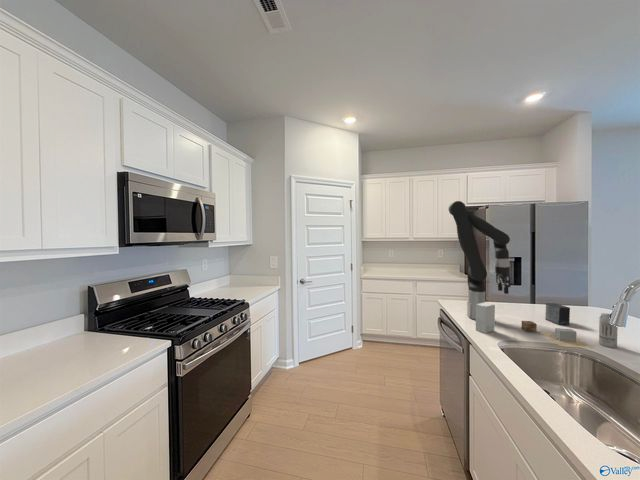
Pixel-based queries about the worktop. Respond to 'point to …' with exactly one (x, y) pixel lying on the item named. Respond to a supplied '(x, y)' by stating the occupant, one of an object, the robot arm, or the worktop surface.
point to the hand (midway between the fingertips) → (503, 292)
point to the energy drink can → (607, 332)
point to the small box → (557, 314)
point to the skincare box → (485, 317)
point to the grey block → (565, 334)
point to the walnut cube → (529, 326)
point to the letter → (567, 343)
